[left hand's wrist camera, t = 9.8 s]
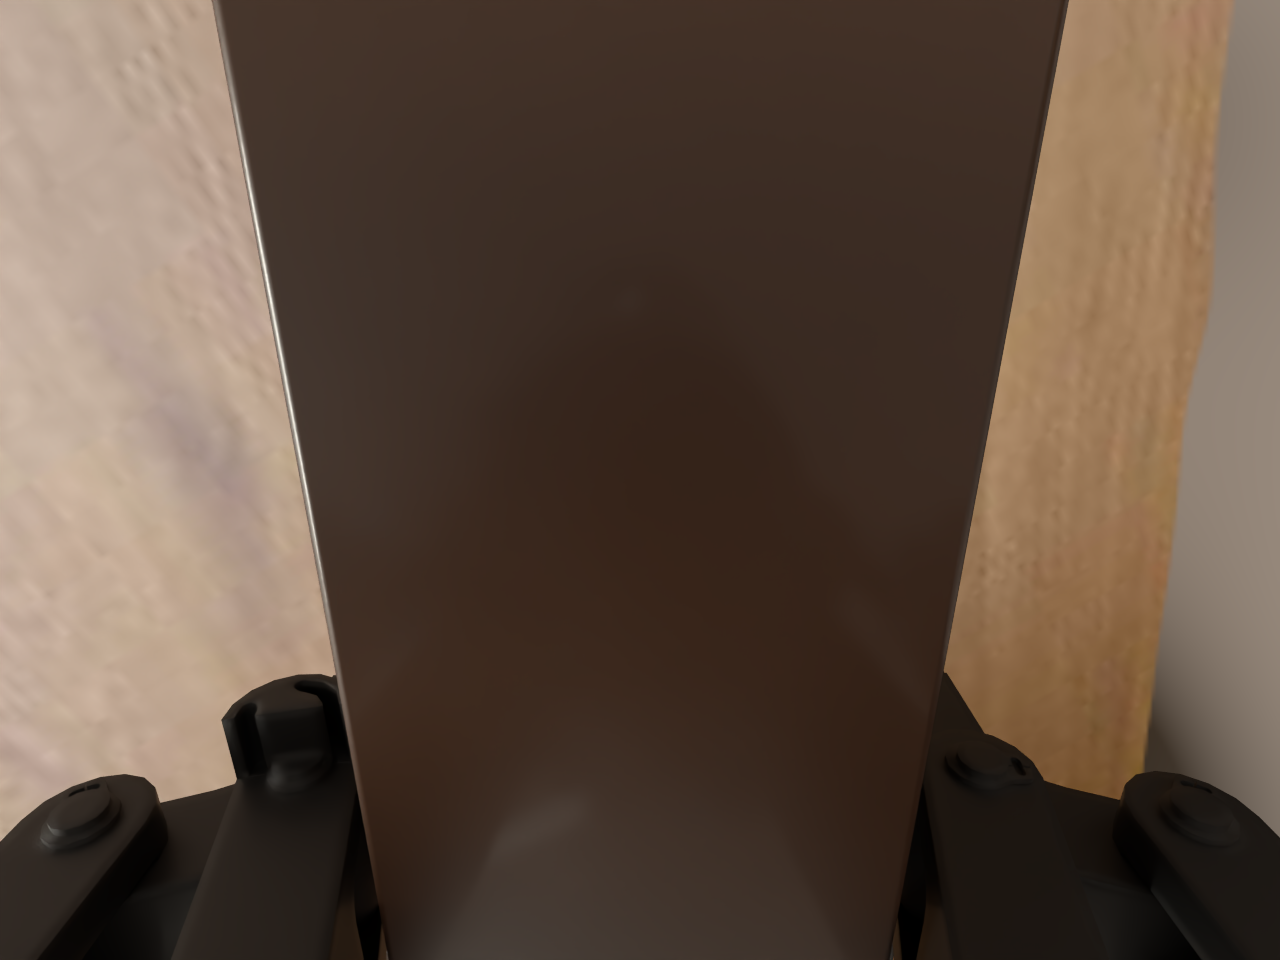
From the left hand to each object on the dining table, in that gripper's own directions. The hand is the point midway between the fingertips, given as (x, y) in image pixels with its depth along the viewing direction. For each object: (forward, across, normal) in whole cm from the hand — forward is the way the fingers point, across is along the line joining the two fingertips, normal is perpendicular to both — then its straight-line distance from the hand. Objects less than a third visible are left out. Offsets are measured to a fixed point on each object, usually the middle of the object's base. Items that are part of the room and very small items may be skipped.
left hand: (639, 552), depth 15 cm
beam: (0, 0, -10) cm, 10 cm away
